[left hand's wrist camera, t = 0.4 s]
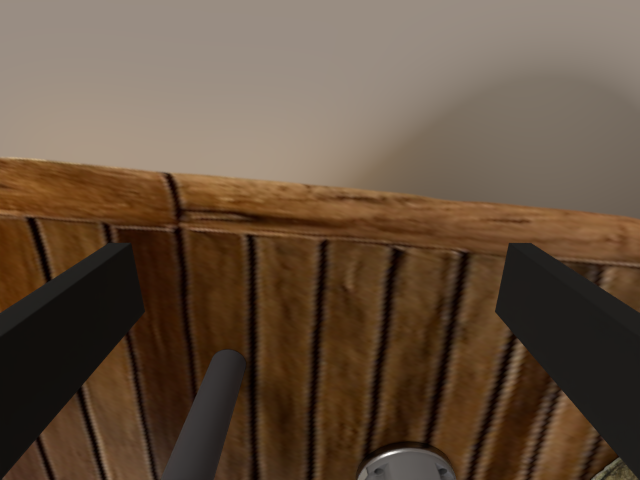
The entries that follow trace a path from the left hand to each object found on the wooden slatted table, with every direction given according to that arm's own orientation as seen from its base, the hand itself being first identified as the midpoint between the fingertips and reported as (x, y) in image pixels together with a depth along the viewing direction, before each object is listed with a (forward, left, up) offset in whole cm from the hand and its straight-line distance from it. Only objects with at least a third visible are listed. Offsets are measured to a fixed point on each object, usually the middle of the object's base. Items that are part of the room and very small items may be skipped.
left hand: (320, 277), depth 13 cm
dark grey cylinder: (-27, +12, -28) cm, 41 cm away
